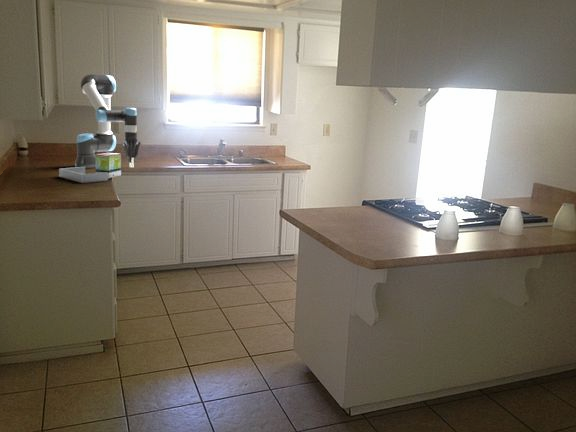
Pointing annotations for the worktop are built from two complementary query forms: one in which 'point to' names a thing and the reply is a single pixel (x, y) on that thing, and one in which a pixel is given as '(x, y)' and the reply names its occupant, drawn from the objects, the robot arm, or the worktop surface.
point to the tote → (82, 175)
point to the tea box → (109, 164)
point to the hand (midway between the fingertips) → (131, 167)
